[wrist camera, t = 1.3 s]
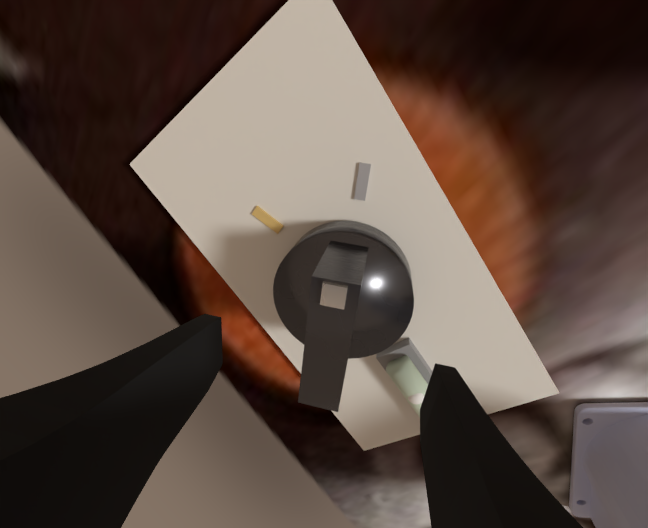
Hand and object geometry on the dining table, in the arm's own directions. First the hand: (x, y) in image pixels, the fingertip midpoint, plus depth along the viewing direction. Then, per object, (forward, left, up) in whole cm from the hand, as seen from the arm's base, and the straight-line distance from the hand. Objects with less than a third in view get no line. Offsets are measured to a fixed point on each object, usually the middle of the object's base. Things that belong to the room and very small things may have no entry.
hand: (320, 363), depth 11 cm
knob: (0, 0, -6) cm, 6 cm away
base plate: (0, 0, -8) cm, 8 cm away
